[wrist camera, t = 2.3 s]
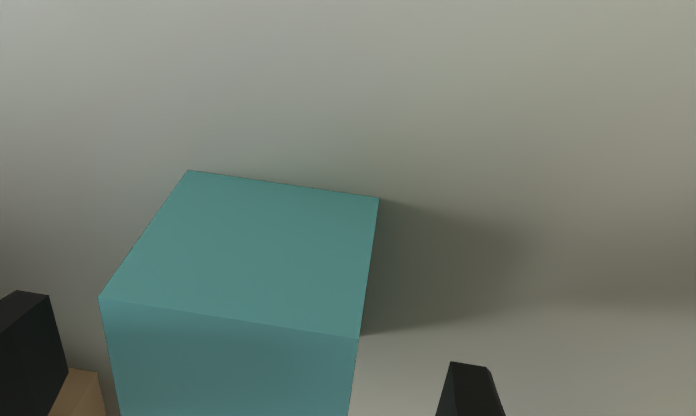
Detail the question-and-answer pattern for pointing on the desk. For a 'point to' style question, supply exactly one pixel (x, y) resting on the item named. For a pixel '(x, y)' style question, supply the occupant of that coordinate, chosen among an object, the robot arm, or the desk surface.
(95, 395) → the walnut block
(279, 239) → the teal block
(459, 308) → the desk surface
